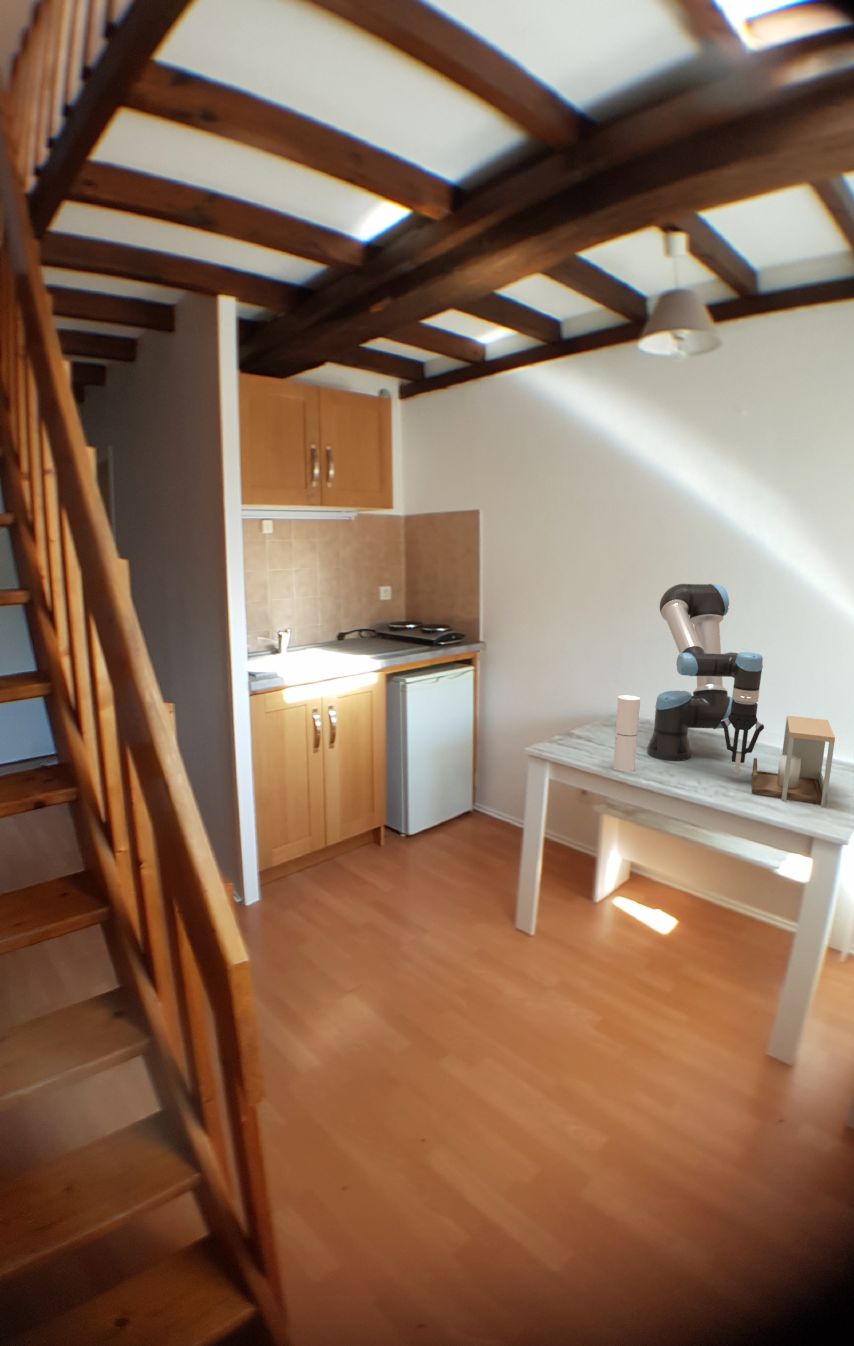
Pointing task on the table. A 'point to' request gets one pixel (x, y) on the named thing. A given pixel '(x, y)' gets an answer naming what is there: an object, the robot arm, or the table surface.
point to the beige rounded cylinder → (793, 771)
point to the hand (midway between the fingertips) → (736, 771)
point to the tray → (768, 786)
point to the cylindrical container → (626, 732)
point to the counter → (808, 750)
